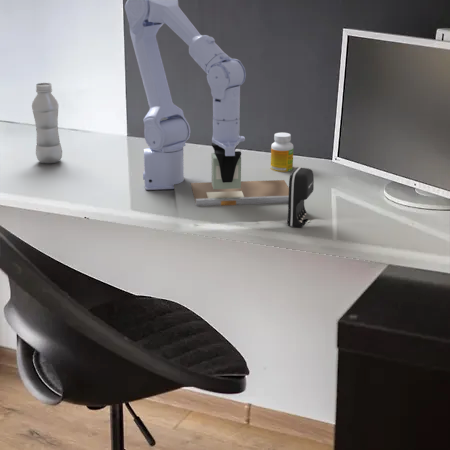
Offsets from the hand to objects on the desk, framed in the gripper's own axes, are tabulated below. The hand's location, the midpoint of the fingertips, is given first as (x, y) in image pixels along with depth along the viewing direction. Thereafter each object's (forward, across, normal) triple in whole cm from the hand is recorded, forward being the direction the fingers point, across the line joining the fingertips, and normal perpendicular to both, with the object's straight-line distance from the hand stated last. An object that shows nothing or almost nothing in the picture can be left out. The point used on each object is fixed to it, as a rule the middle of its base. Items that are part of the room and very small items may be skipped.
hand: (225, 178), depth 181 cm
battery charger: (+6, -14, -14) cm, 21 cm away
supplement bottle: (+6, +19, -16) cm, 25 cm away
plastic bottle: (+6, +33, +41) cm, 53 cm away
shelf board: (+6, +3, -4) cm, 7 cm away
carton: (+2, 0, 0) cm, 2 cm away
